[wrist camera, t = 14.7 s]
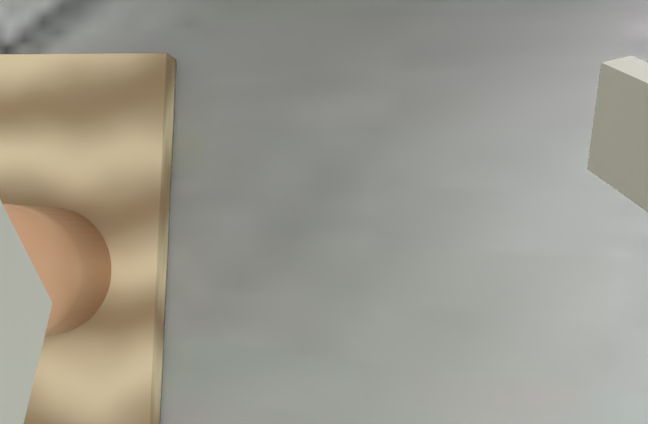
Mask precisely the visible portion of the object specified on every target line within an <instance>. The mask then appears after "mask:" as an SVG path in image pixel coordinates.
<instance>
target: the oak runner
mask: <svg viewBox="0 0 648 424" xmlns="http://www.w3.org/2000/svg"><path fill="white" fill-rule="evenodd" d="M175 72H176V60H175V59H174V58H173V57H171V56H170V55H169V54H168V53H102V54H4V55H0V200H1V202H2V204H14V205H27V206H40V207H52V208H63V209H67V210H71V211H74V212H76V213H78V214H80V215H82V216H84V217H85V218H86V219H88V220H89V221H90V222H91V223H92V224H93V225H94V226H95V227H96V228H97V229H98V230H99V232H100V233H101V235H102V236H103V238H104V240H105V242H106V245H107V247H108V250H109V254H110V259H111V281H110V286H109V290H108V292H107V295H106V298H105V300H104V301H103V303H102V305H101V307H100V308H99V309H98V311H97V312H96V313H95V314H94V315H93V316H92V317H91V318H90V319H89V320H88V321H87V322H85V323H84V324H82V325H81V326H79V327H77V328H75V329H73V330H69V331H66V332H63V333H59V334H55V335H52V336H48V337H45V338H44V341H43V345H42V349H41V353H40V358H39V362H38V366H37V370H36V374H35V378H34V383H33V387H32V391H31V395H30V399H29V403H28V407H27V412H26V416H25V420H24V424H160V405H161V383H162V361H163V339H164V316H165V294H166V272H167V250H168V228H169V205H170V183H171V161H172V139H173V116H174V94H175Z"/></svg>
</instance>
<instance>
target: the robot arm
mask: <svg viewBox="0 0 648 424" xmlns="http://www.w3.org/2000/svg"><path fill="white" fill-rule="evenodd" d="M588 170H590V171H591V172H592V173H594V174H595V175H597V176H598V177H599V178H601V179H602V180H604V181H605V182H606V183H608V184H609V185H611V186H612V187H613V188H615V189H616V190H618V191H619V192H620V193H622V194H623V195H625V196H626V197H627V198H629V199H630V200H632V201H633V202H634V203H636V204H637V205H639V206H640V207H641V208H643V209H644V210H646V211H647V212H648V62H646V61H644V60H641V59H639V58H636V57H634V56H628V57H623V58H619V59H614V60H610V61H605V62H601V68H600V76H599V84H598V92H597V99H596V107H595V115H594V122H593V130H592V138H591V146H590V153H589V161H588ZM52 304H53V302H52V300H51V298H50V296H49V294H48V293H47V291H46V289H45V287H44V285H43V283H42V281H41V279H40V277H39V275H38V273H37V271H36V269H35V267H34V265H33V263H32V261H31V259H30V257H29V255H28V253H27V251H26V249H25V247H24V245H23V243H22V241H21V239H20V237H19V235H18V233H17V232H16V230H15V228H14V226H13V224H12V222H11V220H10V218H9V216H8V214H7V212H6V210H5V208H4V206H3V204H2V202H1V200H0V424H24V420H25V416H26V412H27V407H28V403H29V399H30V395H31V391H32V387H33V383H34V378H35V374H36V370H37V366H38V362H39V358H40V353H41V349H42V345H43V341H44V337H45V333H46V329H47V324H48V320H49V316H50V312H51V308H52Z"/></svg>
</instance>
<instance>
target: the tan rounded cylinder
mask: <svg viewBox="0 0 648 424" xmlns="http://www.w3.org/2000/svg"><path fill="white" fill-rule="evenodd" d="M3 206H4V208H5V210H6V212H7V214H8V216H9V218H10V220H11V222H12V224H13V226H14V228H15V230H16V232H17V233H18V235H19V237H20V239H21V241H22V243H23V245H24V247H25V249H26V251H27V253H28V255H29V257H30V259H31V261H32V263H33V265H34V267H35V269H36V271H37V273H38V275H39V277H40V279H41V281H42V283H43V285H44V287H45V289H46V291H47V293H48V294H49V296H50V298H51V300H52V302H53V304H52V308H51V312H50V316H49V320H48V324H47V329H46V333H45V337H48V336H52V335H55V334H59V333H63V332H66V331H69V330H73V329H75V328H77V327H79V326H81V325H82V324H84V323H85V322H87V321H88V320H89V319H90V318H91V317H92V316H93V315H94V314H95V313H96V312H97V311H98V309H99V308H100V307H101V305H102V303H103V301H104V300H105V298H106V295H107V292H108V290H109V286H110V281H111V259H110V254H109V250H108V247H107V245H106V242H105V240H104V238H103V236H102V235H101V233H100V232H99V230H98V229H97V228H96V227H95V226H94V225H93V224H92V223H91V222H90V221H89V220H88V219H86V218H85V217H84V216H82V215H80V214H78V213H76V212H74V211H71V210H67V209H63V208H52V207H40V206H27V205H14V204H3ZM45 337H44V338H45Z"/></svg>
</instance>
